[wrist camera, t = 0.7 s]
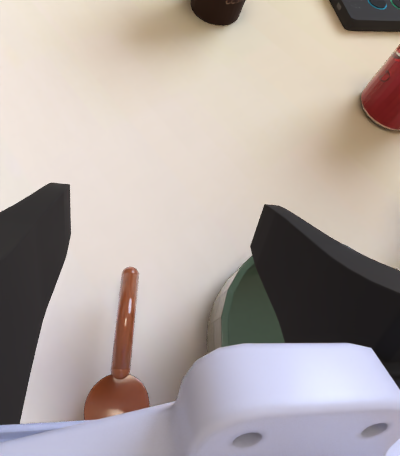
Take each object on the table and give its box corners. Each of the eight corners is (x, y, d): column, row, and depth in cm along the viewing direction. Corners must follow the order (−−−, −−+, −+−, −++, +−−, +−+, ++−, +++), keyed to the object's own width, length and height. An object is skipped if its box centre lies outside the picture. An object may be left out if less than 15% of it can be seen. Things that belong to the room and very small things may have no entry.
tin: (394, 445, 25) (451, 462, 20) (206, 449, 23) (223, 469, 18) (358, 262, 31) (396, 243, 26) (206, 251, 29) (219, 228, 24)
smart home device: (331, -21, 47) (440, -14, 52) (325, -8, 48) (431, -2, 53) (353, 19, 44) (467, 22, 49) (345, 31, 45) (457, 33, 50)
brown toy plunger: (145, 437, 22) (147, 449, 19) (85, 438, 22) (75, 450, 18) (156, 280, 27) (159, 266, 23) (106, 277, 26) (101, 262, 23)
